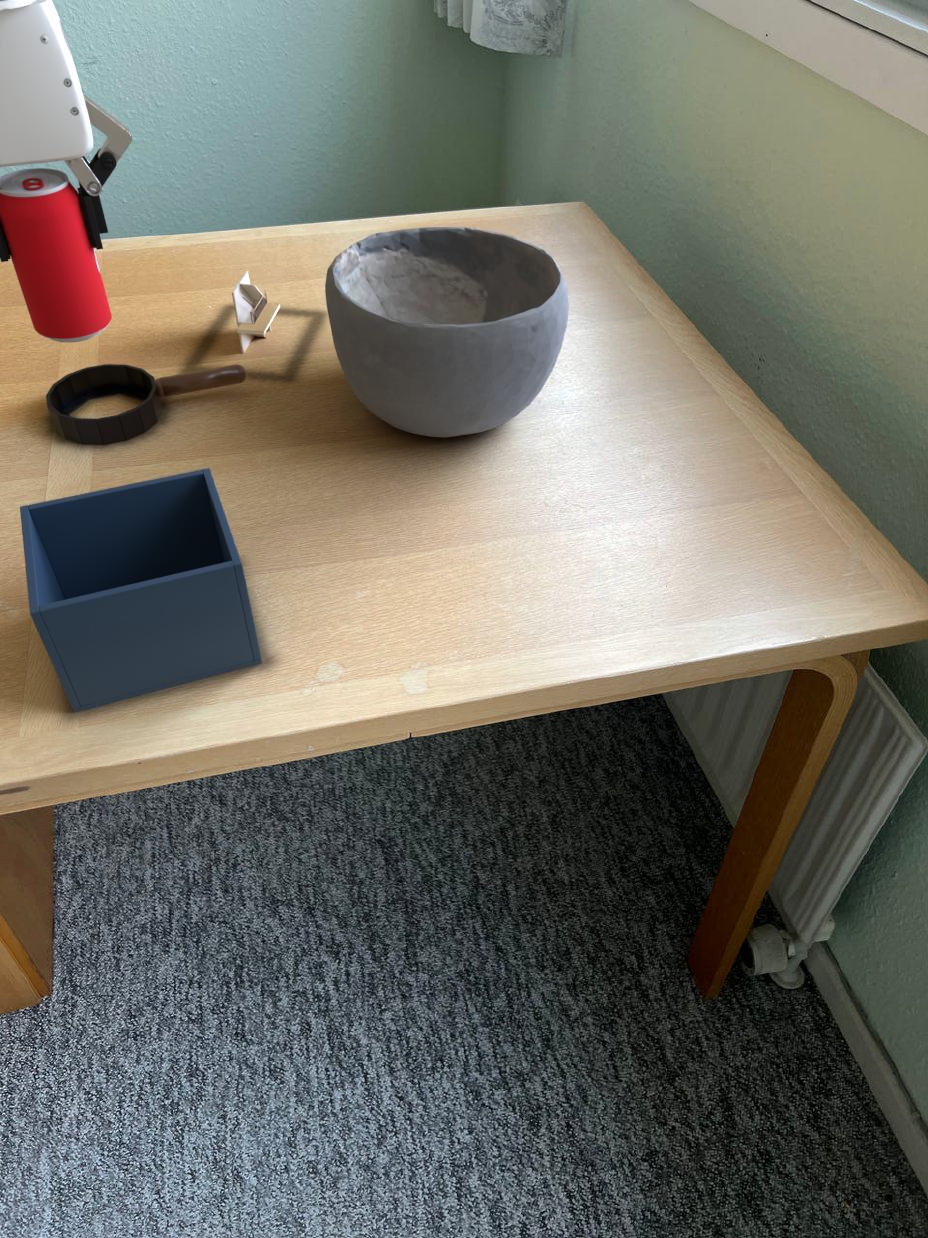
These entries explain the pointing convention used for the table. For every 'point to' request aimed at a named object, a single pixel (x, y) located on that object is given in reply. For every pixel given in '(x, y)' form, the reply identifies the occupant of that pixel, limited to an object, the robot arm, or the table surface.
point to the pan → (128, 383)
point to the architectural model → (252, 311)
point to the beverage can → (53, 254)
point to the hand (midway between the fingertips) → (50, 246)
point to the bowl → (446, 326)
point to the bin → (137, 588)
